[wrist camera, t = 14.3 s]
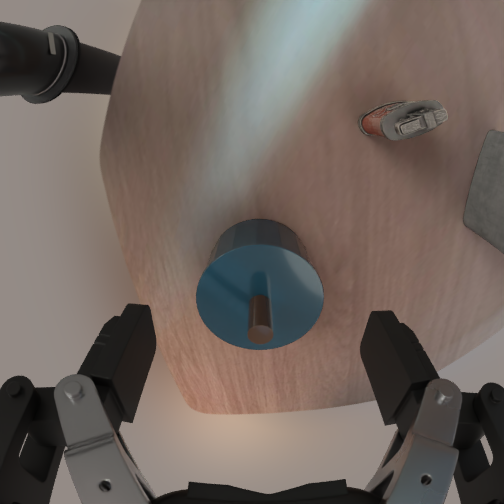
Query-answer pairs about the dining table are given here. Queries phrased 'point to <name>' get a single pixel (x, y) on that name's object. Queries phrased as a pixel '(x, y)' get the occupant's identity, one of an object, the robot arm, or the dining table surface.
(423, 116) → the lighter
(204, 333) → the dining table surface
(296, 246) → the pot
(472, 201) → the hip flask
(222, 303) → the pot lid
